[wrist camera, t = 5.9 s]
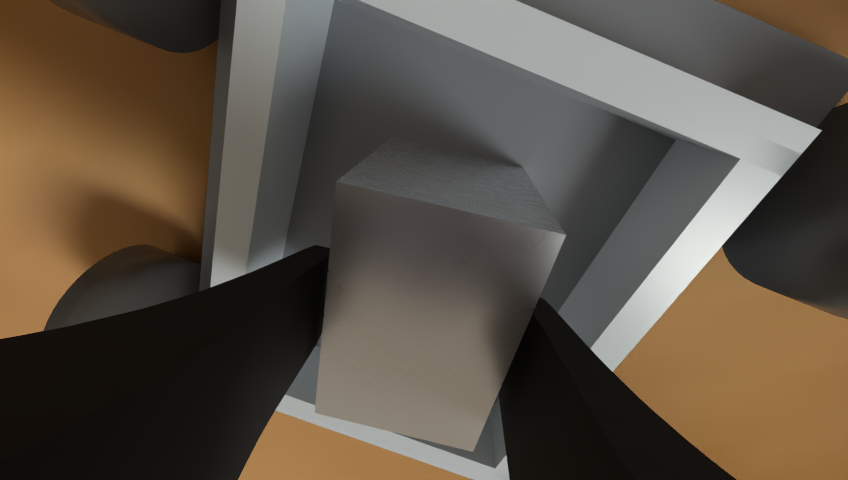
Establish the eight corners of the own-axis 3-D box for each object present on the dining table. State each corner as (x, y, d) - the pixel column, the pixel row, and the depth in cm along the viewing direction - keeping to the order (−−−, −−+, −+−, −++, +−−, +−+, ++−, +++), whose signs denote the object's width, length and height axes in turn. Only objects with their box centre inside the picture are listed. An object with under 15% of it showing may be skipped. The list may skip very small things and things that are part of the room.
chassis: (892, 96, 9) (1288, 112, 5) (556, 462, 17) (588, 598, 13) (182, -213, 8) (-147, -553, 4) (168, 324, 16) (53, 418, 12)
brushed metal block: (523, 166, 10) (566, 234, 6) (471, 321, 13) (473, 451, 8) (393, 136, 10) (335, 181, 6) (367, 297, 13) (314, 412, 8)
